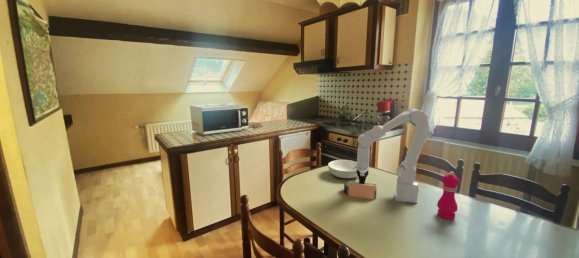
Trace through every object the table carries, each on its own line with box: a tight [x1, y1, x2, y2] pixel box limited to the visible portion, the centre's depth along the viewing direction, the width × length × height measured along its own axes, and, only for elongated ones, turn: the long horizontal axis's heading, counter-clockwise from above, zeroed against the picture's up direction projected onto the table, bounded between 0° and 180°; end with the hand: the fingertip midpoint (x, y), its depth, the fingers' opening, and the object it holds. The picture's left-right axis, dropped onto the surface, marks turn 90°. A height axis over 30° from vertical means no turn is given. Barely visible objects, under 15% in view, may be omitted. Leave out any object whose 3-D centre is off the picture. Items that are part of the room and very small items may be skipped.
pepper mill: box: [436, 171, 460, 221], centre depth 101 cm, size 7×7×20 cm
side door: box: [348, 183, 375, 201], centre depth 118 cm, size 12×1×7 cm, turn 73°
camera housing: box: [343, 180, 378, 200], centre depth 123 cm, size 16×8×5 cm, turn 73°
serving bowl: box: [327, 159, 358, 179], centre depth 147 cm, size 21×21×7 cm
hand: (361, 184), depth 121 cm, fingers closed
